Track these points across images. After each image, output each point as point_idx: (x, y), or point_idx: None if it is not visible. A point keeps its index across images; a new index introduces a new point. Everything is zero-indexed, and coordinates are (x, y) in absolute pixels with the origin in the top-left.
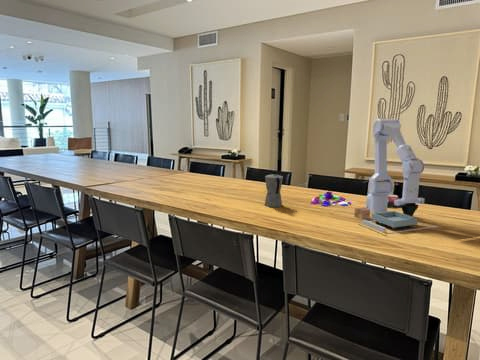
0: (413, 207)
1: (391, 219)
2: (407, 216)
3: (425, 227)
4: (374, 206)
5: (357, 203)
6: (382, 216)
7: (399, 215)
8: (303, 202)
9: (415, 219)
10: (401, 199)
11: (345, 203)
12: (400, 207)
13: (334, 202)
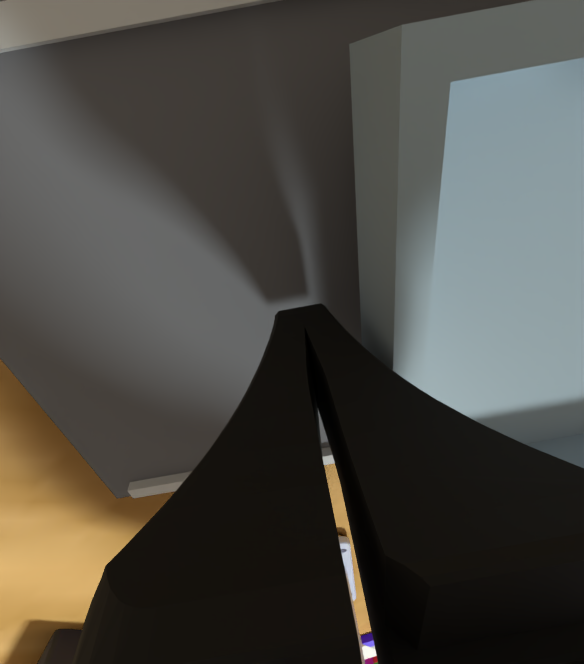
0: (412, 527)
1: (579, 350)
2: (415, 330)
3: (141, 12)
4: (356, 625)
5: None
6: (572, 443)
7: None
8: None
9: (493, 10)
10: None
11: (366, 649)
12: (58, 635)
13: None
